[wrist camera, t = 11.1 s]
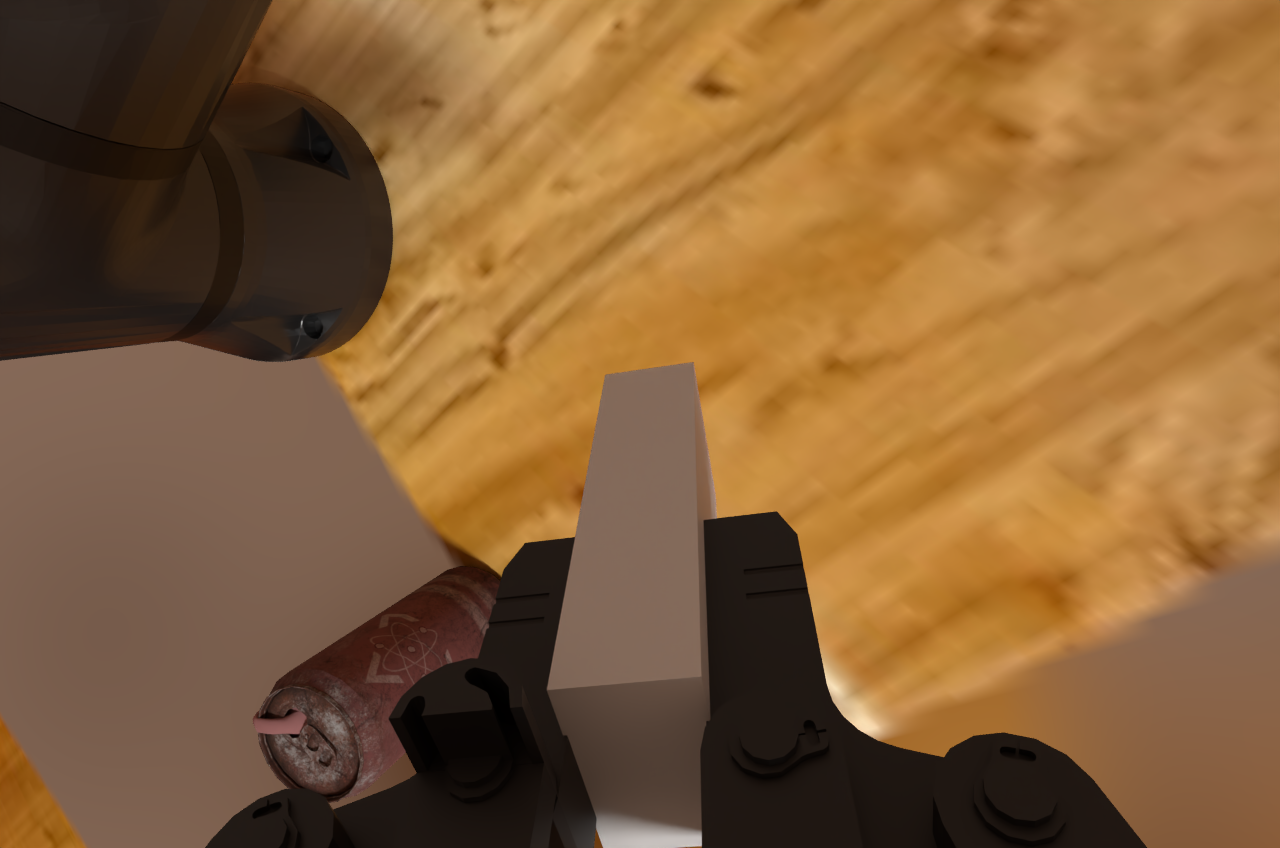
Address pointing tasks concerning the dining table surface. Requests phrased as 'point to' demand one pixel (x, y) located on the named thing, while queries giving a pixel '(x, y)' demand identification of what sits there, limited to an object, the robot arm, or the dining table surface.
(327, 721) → the can
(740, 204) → the dining table surface
